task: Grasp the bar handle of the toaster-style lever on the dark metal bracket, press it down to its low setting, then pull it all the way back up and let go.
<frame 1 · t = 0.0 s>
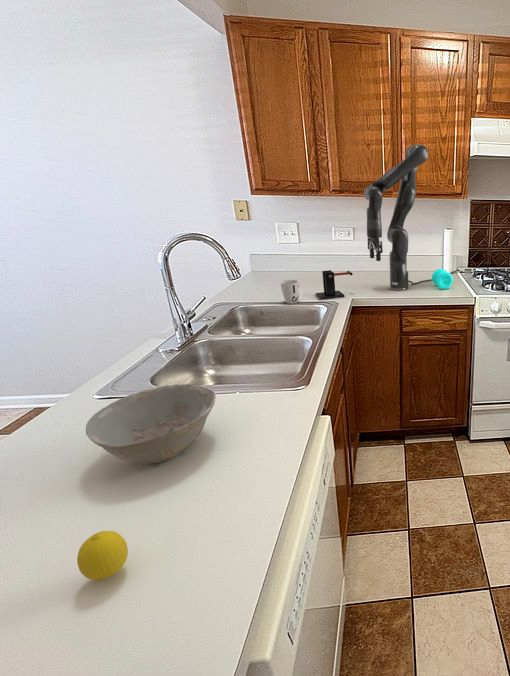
hand: (375, 259, 207), 17 cm above the table, tool pointing down, fingers open, 8 cm apart
bracket: (329, 296, 202), on the table
lever: (338, 274, 200), point 11 cm above the table, hinge at 0.0°
lemon: (111, 575, 60), on the table
cup: (291, 302, 190), on the table
ceramic bowl: (165, 449, 87), on the table
turquoise rounded cylinder: (442, 287, 225), on the table
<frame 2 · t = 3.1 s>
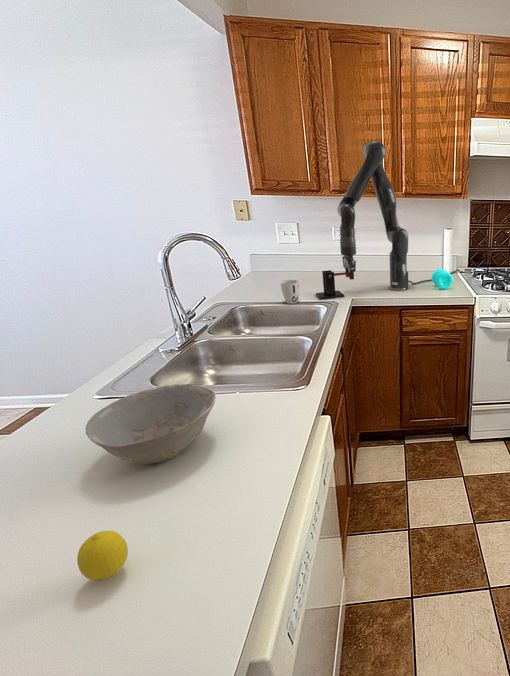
hand: (349, 278, 204), 8 cm above the table, tool pointing down, fingers closed on lever, 5 cm apart
lever: (338, 274, 200), point 11 cm above the table, hinge at 0.0°, touching gripper
everything else where it was.
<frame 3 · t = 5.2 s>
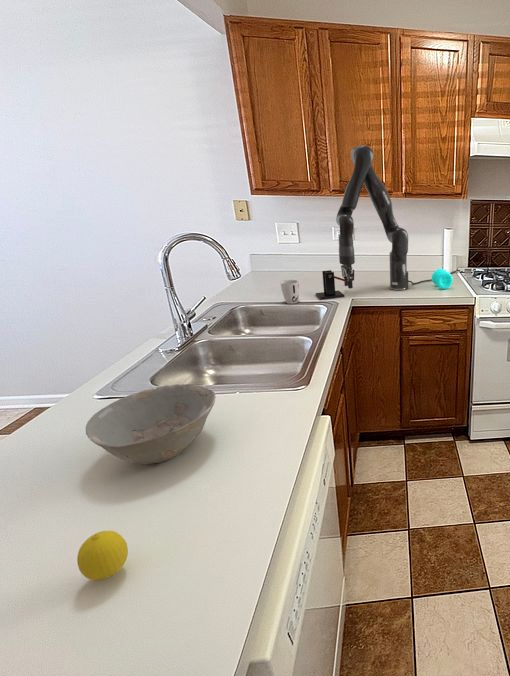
hand: (348, 286, 205), 4 cm above the table, tool pointing down, fingers closed on lever, 5 cm apart
lever: (337, 278, 201), point 9 cm above the table, hinge at -23.5°, touching gripper
everything else where it was.
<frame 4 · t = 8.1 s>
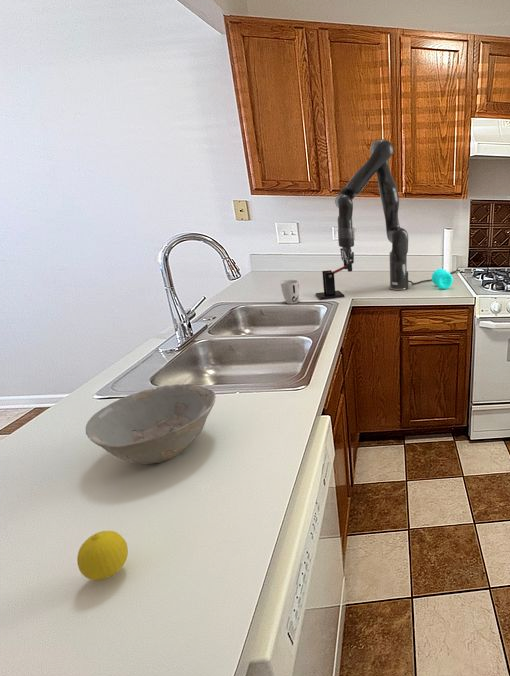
hand: (348, 270, 202), 13 cm above the table, tool pointing down, fingers closed on lever, 5 cm apart
lever: (337, 270, 199), point 13 cm above the table, hinge at 20.6°, touching gripper
everything else where it was.
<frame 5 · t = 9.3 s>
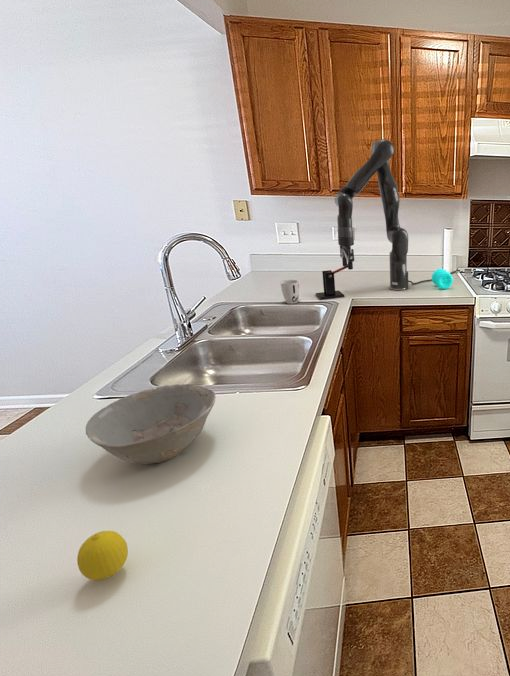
hand: (347, 267, 202), 14 cm above the table, tool pointing down, fingers open, 8 cm apart
lever: (337, 270, 200), point 13 cm above the table, hinge at 19.9°
everything else where it was.
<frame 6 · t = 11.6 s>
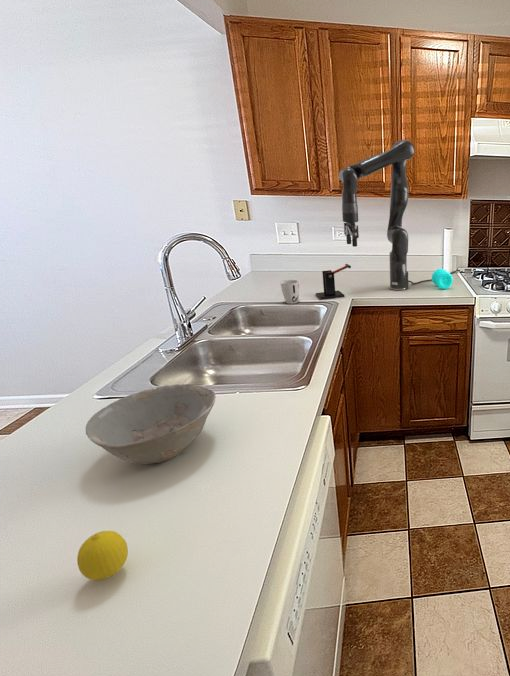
hand: (351, 245, 199), 25 cm above the table, tool pointing down, fingers open, 8 cm apart
nothing on the table moved.
at the end: lever reached -24° during the clip, +20° at the end; lever at +20° (first picture: +0°) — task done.
